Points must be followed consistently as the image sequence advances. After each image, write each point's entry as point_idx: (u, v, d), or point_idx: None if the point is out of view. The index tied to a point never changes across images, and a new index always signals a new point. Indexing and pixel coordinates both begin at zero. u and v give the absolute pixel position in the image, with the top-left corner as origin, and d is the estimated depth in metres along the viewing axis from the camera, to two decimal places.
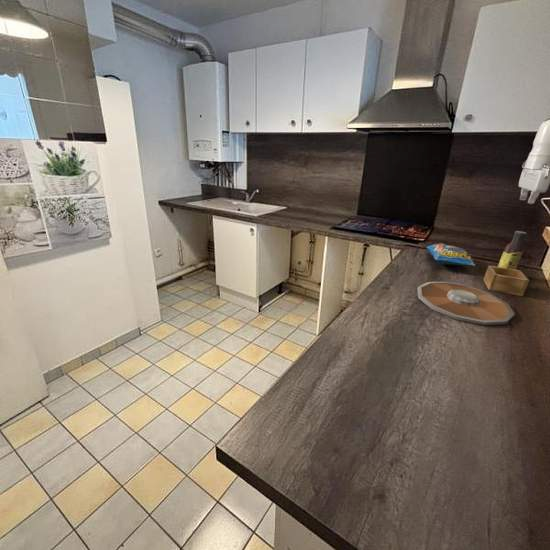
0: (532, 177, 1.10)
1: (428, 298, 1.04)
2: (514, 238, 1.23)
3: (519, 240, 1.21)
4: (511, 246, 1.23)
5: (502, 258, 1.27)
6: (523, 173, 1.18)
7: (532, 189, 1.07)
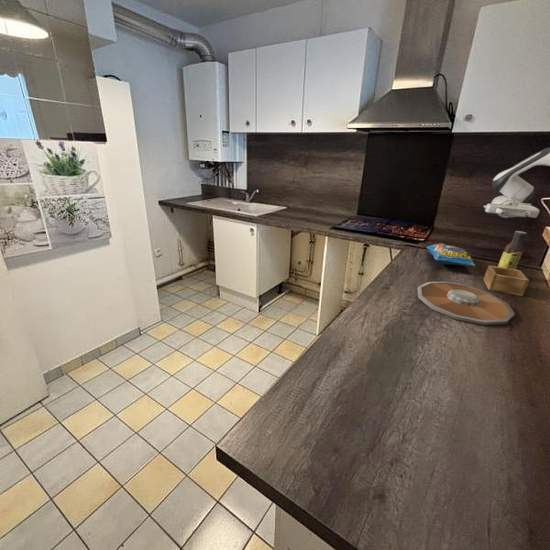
0: None
1: (428, 298, 1.04)
2: (514, 238, 1.23)
3: (519, 240, 1.21)
4: (511, 246, 1.23)
5: (502, 258, 1.27)
6: None
7: None
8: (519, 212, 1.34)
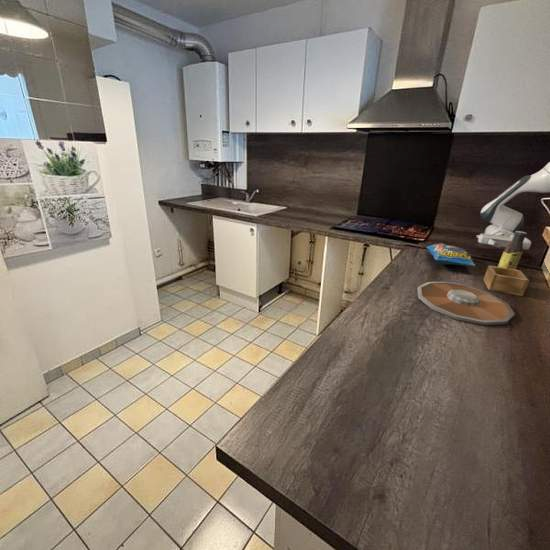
0: None
1: (428, 298, 1.04)
2: (514, 238, 1.23)
3: (519, 240, 1.21)
4: (511, 246, 1.23)
5: (502, 258, 1.27)
6: None
7: (484, 243, 1.41)
8: None
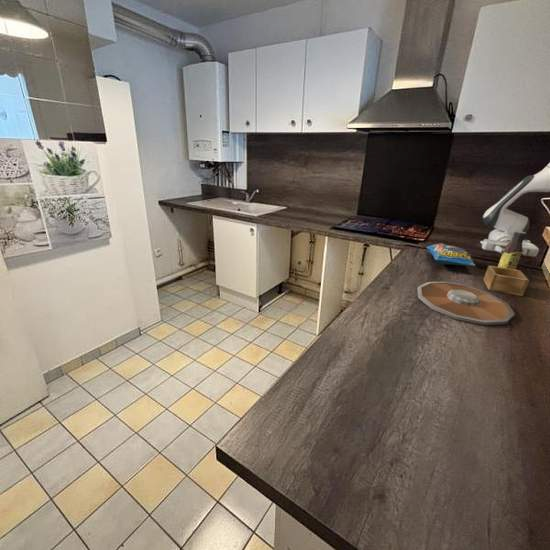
0: None
1: (428, 298, 1.04)
2: (514, 238, 1.23)
3: (519, 240, 1.21)
4: (511, 246, 1.23)
5: (502, 258, 1.27)
6: None
7: None
8: None
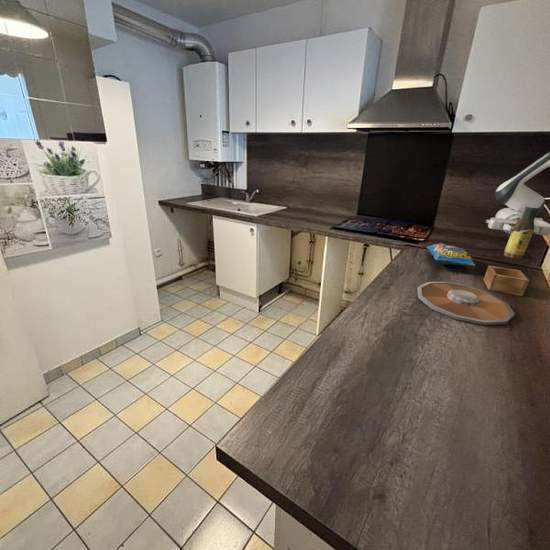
0: None
1: (428, 298, 1.04)
2: (524, 214, 1.09)
3: (530, 216, 1.08)
4: (521, 223, 1.10)
5: (511, 237, 1.14)
6: None
7: None
8: None
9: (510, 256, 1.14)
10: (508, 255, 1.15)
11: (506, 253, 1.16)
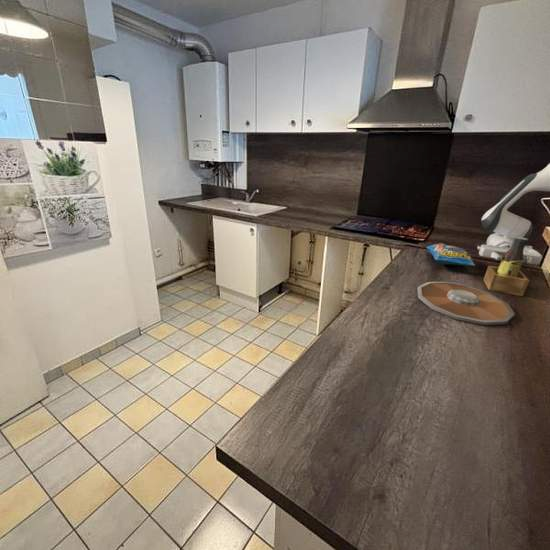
0: None
1: (428, 298, 1.04)
2: (514, 245, 1.10)
3: (519, 247, 1.09)
4: (510, 254, 1.11)
5: (500, 267, 1.14)
6: None
7: (486, 256, 1.20)
8: None
9: None
10: None
11: None
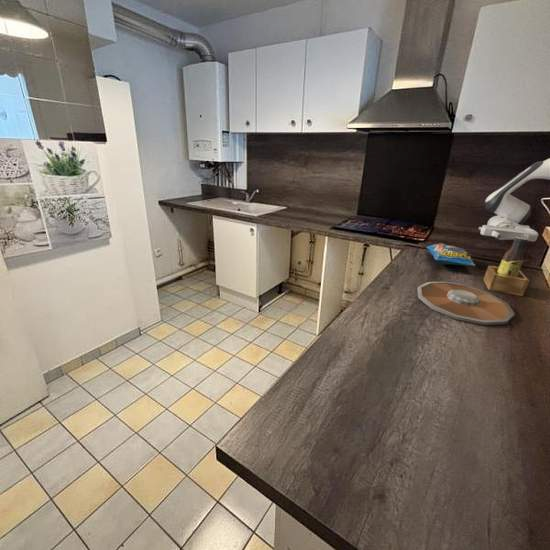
0: None
1: (428, 298, 1.04)
2: (514, 245, 1.10)
3: (519, 247, 1.09)
4: (510, 254, 1.11)
5: (500, 267, 1.14)
6: None
7: (487, 235, 1.30)
8: (516, 235, 1.26)
9: None
10: None
11: None
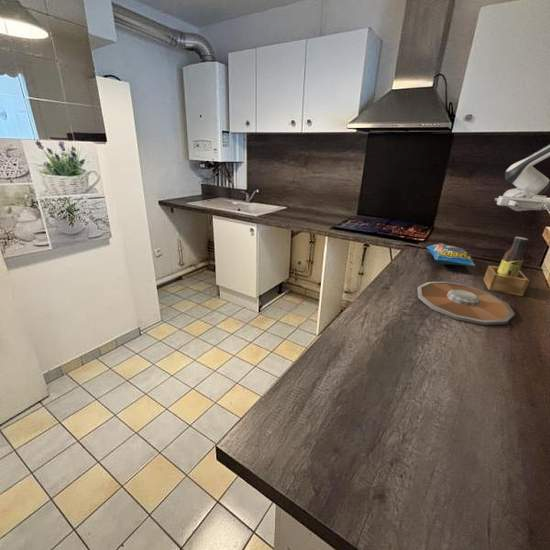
0: None
1: (428, 298, 1.04)
2: (514, 245, 1.10)
3: (519, 247, 1.09)
4: (510, 254, 1.11)
5: (500, 267, 1.14)
6: (541, 208, 1.29)
7: (503, 205, 1.30)
8: (533, 204, 1.26)
9: None
10: None
11: None
